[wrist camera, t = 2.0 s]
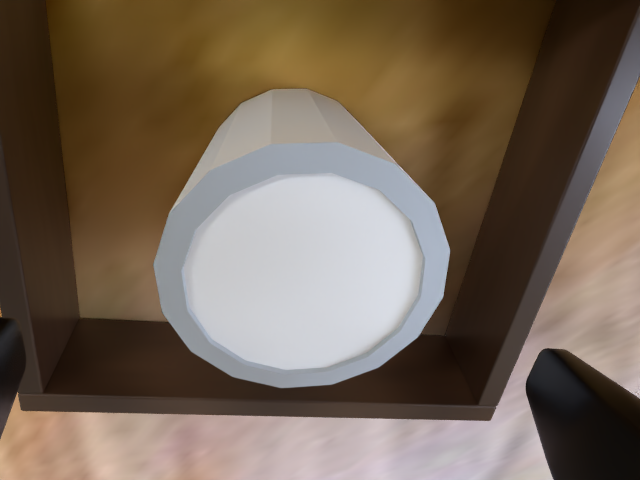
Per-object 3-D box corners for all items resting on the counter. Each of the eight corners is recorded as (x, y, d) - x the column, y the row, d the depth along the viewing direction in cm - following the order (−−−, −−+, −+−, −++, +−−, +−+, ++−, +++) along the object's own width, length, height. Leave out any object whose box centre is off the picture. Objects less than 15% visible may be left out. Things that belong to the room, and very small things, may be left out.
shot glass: (362, 263, 20) (405, 400, 14) (182, 241, 19) (146, 381, 13) (412, 88, 17) (495, 170, 11) (199, 48, 16) (160, 114, 10)
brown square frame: (597, -48, 15) (693, -44, 12) (457, 349, 23) (491, 421, 20) (-4, -153, 13) (-101, -187, 9) (61, 332, 20) (20, 412, 17)
